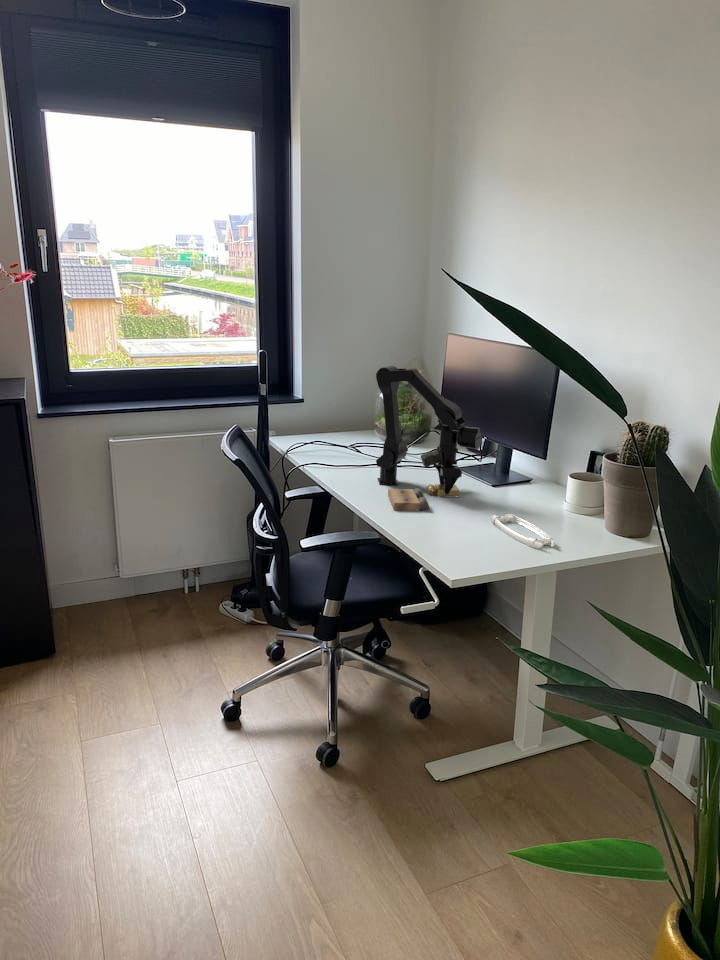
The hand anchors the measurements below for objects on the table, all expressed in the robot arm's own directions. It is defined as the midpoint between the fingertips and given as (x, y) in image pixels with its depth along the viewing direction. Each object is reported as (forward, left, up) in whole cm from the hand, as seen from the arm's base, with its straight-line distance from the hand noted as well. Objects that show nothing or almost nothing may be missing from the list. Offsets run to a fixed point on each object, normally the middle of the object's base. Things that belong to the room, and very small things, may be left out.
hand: (444, 490), depth 239 cm
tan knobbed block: (0, -1, -1) cm, 1 cm away
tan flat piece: (+10, -14, -1) cm, 17 cm away
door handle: (+36, +15, -2) cm, 39 cm away
